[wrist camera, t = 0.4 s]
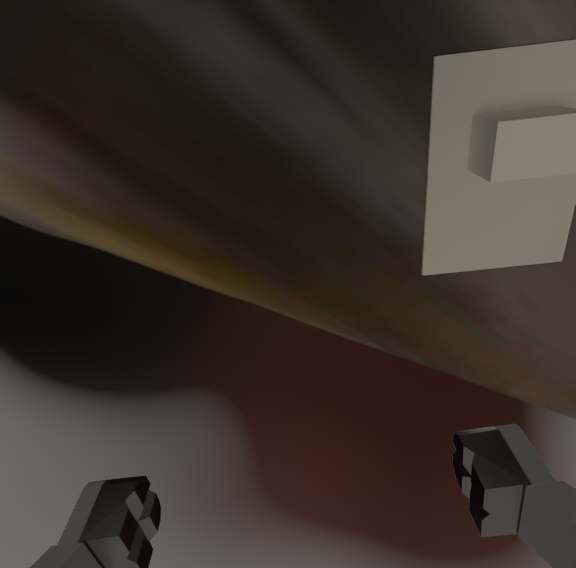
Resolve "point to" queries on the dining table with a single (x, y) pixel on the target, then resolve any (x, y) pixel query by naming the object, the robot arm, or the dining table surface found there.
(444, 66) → the felt mat
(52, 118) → the dining table surface
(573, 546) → the robot arm
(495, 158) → the plain beige block
